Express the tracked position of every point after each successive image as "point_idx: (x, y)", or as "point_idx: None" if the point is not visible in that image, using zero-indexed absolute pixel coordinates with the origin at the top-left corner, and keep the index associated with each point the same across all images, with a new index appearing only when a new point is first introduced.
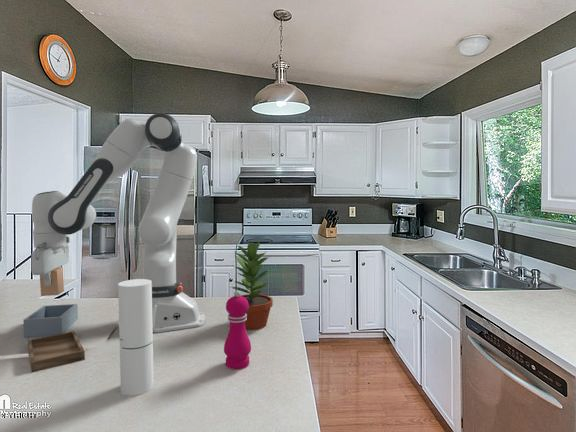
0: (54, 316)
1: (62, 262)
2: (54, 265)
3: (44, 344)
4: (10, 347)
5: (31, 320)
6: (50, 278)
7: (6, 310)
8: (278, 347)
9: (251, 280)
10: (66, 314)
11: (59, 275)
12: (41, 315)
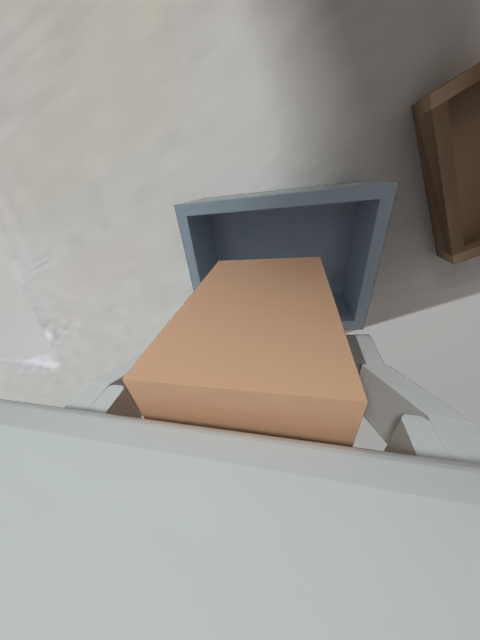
0: None
1: (12, 447)
2: (385, 547)
3: (471, 201)
4: (394, 307)
5: (367, 304)
6: (380, 373)
7: None
8: None
9: None
10: (322, 189)
11: (269, 330)
12: None
